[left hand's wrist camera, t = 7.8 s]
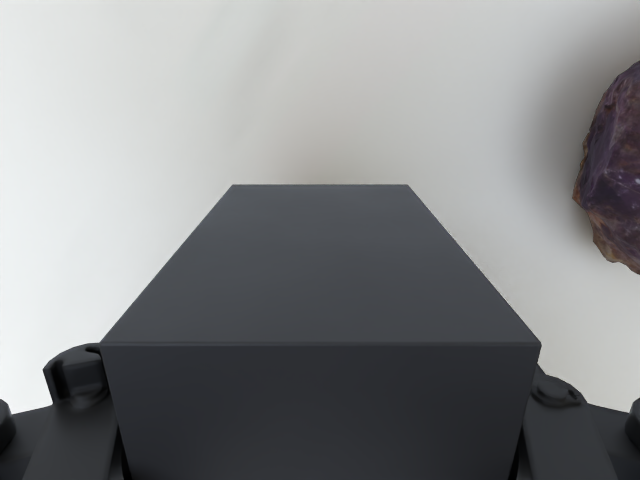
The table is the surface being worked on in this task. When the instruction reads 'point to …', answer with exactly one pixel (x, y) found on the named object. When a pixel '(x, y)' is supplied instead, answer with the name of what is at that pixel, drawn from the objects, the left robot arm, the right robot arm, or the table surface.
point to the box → (320, 347)
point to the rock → (614, 171)
